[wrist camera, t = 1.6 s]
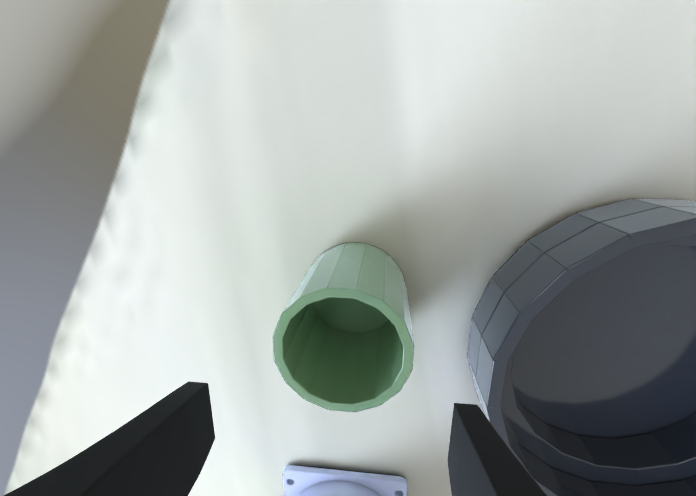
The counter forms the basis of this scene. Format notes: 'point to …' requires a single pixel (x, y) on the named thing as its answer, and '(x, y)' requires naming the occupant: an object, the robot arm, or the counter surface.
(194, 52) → the counter surface
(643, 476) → the dark bowl
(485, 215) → the counter surface
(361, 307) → the green cup
